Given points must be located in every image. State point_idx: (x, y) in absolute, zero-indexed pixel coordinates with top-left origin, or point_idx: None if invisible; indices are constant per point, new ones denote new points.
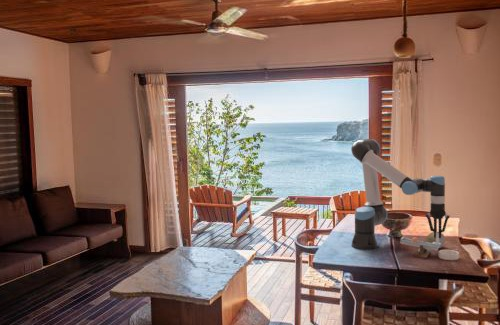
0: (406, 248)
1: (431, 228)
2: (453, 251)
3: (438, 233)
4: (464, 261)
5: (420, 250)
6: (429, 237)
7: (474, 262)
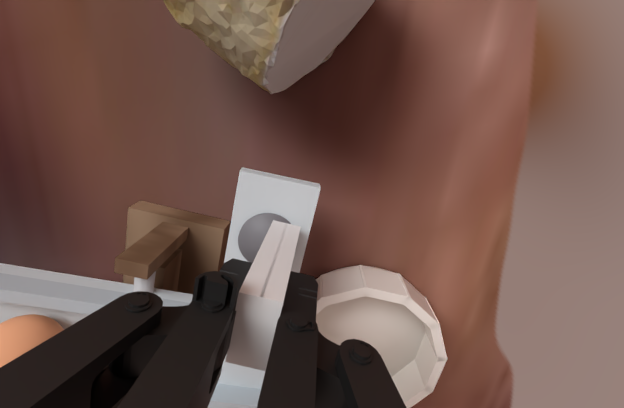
0: (24, 139)
1: (107, 401)
2: (412, 310)
3: (265, 365)
4: (449, 389)
5: None
6: (183, 13)
7: (511, 397)
